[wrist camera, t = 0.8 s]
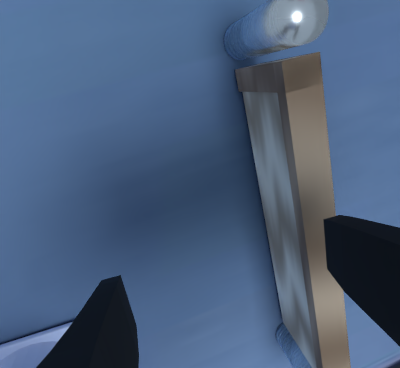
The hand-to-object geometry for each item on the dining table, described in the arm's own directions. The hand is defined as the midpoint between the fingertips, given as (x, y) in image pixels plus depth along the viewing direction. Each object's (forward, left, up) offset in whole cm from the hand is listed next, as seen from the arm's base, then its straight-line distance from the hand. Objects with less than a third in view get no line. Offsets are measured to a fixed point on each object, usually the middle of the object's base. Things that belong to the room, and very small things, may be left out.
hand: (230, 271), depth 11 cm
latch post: (+5, +8, -10) cm, 13 cm away
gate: (+5, -3, -9) cm, 11 cm away
